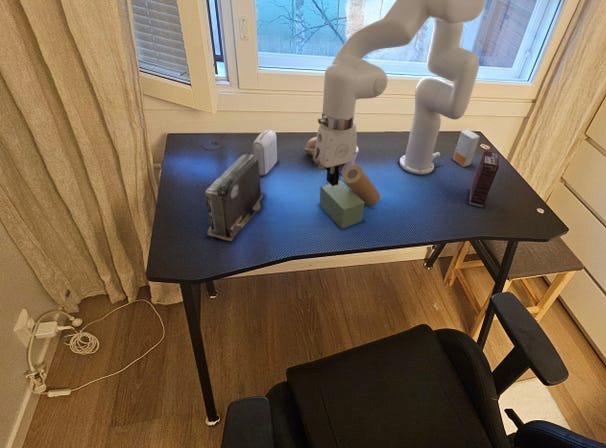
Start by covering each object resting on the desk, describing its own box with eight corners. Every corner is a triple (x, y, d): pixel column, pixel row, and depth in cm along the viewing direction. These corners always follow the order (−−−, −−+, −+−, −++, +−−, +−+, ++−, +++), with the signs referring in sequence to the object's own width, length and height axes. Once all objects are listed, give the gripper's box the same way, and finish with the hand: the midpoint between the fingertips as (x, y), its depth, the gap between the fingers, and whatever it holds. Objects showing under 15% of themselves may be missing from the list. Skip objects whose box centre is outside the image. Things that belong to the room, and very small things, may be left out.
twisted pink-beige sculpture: (332, 169, 134) (313, 154, 127) (311, 171, 140) (292, 156, 133) (340, 146, 137) (322, 130, 130) (319, 148, 143) (301, 133, 136)
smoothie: (352, 180, 130) (357, 142, 121) (334, 175, 131) (337, 137, 122) (358, 170, 135) (362, 133, 126) (340, 166, 136) (343, 128, 127)
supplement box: (483, 207, 129) (499, 166, 119) (468, 204, 129) (483, 163, 119) (483, 193, 136) (498, 153, 126) (469, 190, 136) (483, 149, 126)
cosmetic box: (452, 159, 150) (460, 131, 143) (459, 157, 153) (468, 128, 145) (463, 167, 147) (473, 138, 140) (471, 164, 150) (480, 136, 142)
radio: (249, 188, 119) (245, 144, 110) (275, 196, 118) (273, 152, 109) (200, 234, 102) (190, 187, 92) (230, 244, 100) (223, 198, 91)
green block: (339, 199, 122) (340, 180, 117) (361, 221, 115) (364, 202, 111) (319, 205, 118) (320, 186, 113) (341, 229, 111) (343, 209, 107)
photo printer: (266, 158, 133) (265, 124, 125) (278, 161, 132) (277, 127, 124) (252, 174, 125) (249, 139, 117) (265, 177, 124) (263, 142, 117)
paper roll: (370, 195, 125) (376, 154, 116) (382, 205, 122) (389, 164, 112) (336, 207, 118) (339, 165, 109) (347, 218, 115) (351, 176, 106)
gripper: (319, 132, 89) (315, 197, 100) (371, 121, 97) (362, 183, 109) (302, 117, 93) (300, 182, 104) (354, 108, 101) (347, 169, 113)
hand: (332, 182), depth 107 cm, fingers closed
